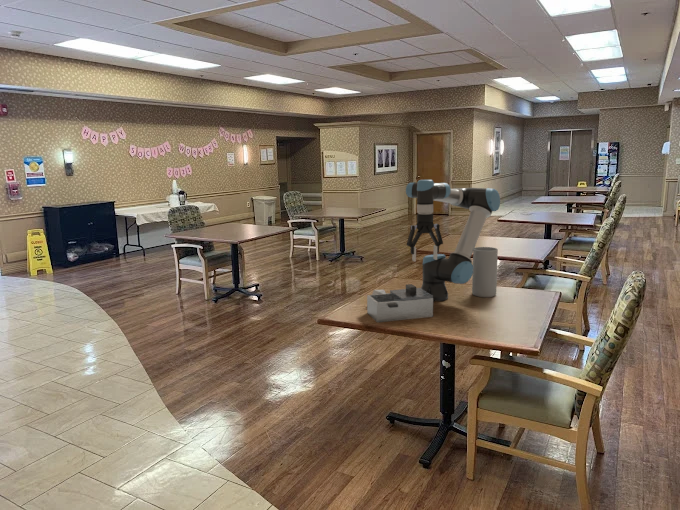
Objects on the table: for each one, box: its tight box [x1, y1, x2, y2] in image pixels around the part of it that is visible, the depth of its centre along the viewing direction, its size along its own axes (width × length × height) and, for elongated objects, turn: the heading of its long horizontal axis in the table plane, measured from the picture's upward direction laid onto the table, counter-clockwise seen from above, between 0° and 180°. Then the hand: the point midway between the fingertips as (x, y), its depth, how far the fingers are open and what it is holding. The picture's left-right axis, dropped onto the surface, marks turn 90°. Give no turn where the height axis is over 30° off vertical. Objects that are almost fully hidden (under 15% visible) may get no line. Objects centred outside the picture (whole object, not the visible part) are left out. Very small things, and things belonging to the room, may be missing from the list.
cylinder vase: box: [471, 246, 499, 298], centre depth 277 cm, size 12×12×25 cm
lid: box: [389, 283, 433, 301], centre depth 247 cm, size 16×16×4 cm
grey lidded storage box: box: [366, 292, 434, 323], centre depth 247 cm, size 28×19×9 cm
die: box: [371, 289, 387, 295], centre depth 263 cm, size 8×9×10 cm
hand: (424, 260), depth 246 cm, fingers open, 10 cm apart
